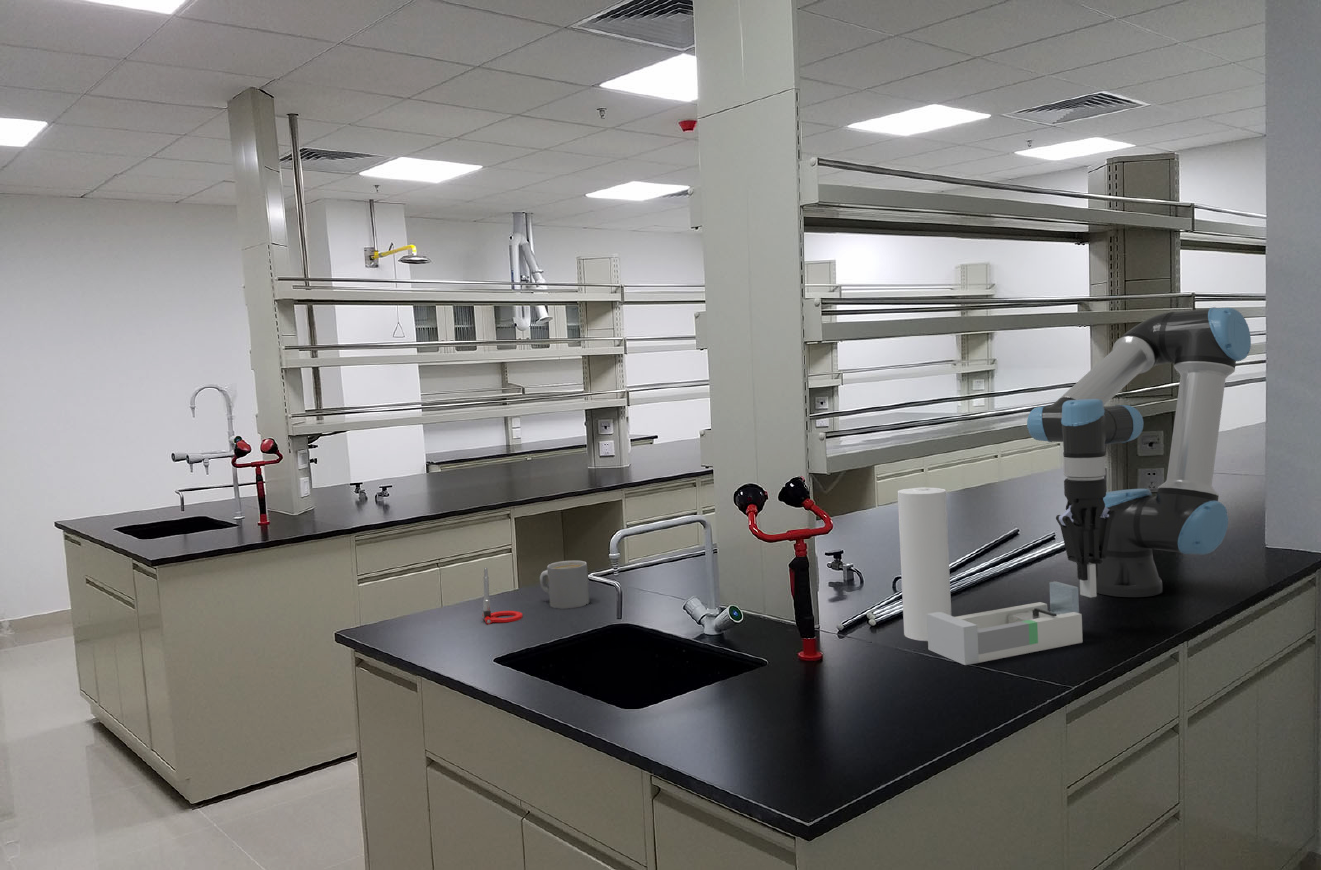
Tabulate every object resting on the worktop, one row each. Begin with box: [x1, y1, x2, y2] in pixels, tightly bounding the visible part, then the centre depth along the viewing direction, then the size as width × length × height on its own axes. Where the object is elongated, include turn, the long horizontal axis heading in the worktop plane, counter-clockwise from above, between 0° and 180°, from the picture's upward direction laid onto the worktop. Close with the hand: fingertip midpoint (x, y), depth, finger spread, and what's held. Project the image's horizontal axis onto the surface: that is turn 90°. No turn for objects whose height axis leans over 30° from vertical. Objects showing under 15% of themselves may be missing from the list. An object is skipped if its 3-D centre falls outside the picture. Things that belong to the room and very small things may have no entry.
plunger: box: [1003, 581, 1080, 625], centre depth 178 cm, size 16×8×8 cm, turn 109°
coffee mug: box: [539, 560, 590, 610], centre depth 234 cm, size 13×10×10 cm
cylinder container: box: [897, 486, 952, 642], centre depth 187 cm, size 9×9×30 cm
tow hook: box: [482, 567, 523, 625], centre depth 222 cm, size 8×13×9 cm
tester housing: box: [927, 601, 1083, 666], centre depth 177 cm, size 27×11×7 cm, turn 110°
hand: (1088, 595), depth 184 cm, fingers closed
